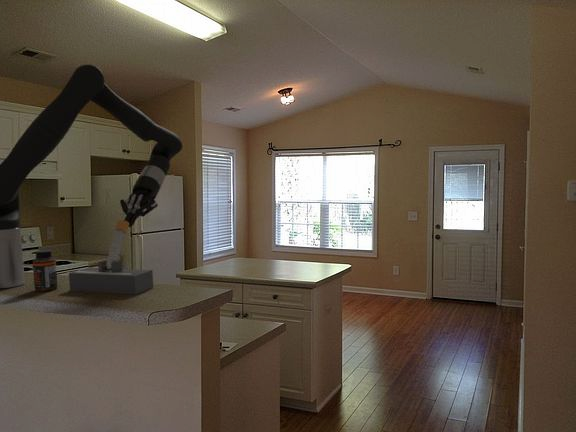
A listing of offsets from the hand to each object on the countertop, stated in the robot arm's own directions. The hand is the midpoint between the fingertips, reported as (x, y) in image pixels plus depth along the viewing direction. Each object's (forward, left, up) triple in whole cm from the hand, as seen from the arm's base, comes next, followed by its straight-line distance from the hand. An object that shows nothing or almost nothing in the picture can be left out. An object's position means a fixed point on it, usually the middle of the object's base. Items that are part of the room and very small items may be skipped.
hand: (127, 225), depth 144 cm
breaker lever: (0, -9, -11) cm, 14 cm away
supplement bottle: (-19, -13, -17) cm, 29 cm away
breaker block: (0, -9, -17) cm, 19 cm away
